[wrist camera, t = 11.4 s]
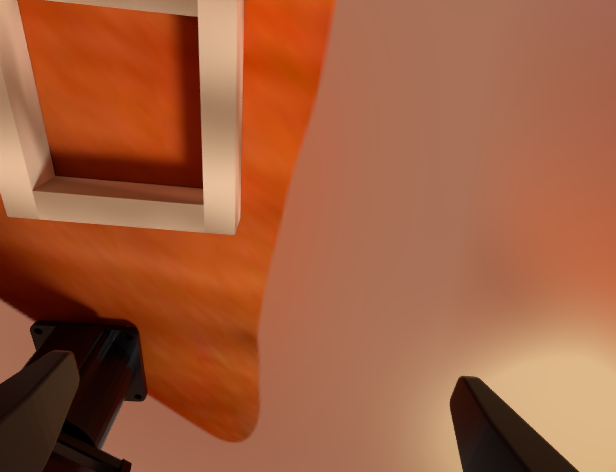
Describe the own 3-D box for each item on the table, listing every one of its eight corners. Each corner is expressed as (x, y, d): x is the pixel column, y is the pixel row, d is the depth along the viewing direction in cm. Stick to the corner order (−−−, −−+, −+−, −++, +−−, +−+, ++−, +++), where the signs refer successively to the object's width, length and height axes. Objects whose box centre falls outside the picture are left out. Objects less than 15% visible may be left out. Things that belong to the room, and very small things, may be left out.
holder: (240, 217, 22) (234, 235, 20) (32, 200, 21) (7, 216, 19) (244, -21, 17) (237, -25, 15) (-33, -53, 16) (-74, -61, 14)
